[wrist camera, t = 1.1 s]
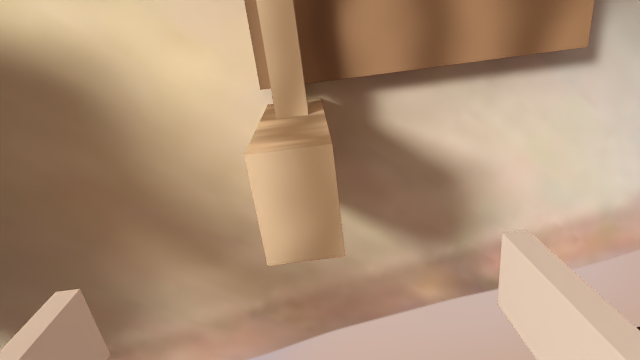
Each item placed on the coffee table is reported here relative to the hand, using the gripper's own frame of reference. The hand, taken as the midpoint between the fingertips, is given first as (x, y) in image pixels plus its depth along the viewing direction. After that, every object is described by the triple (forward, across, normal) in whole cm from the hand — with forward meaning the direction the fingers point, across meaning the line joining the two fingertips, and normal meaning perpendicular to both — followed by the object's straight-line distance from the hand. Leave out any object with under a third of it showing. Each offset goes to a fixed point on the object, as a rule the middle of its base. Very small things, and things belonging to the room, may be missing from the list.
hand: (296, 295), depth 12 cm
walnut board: (+18, +9, +9) cm, 22 cm away
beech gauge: (+19, 0, +5) cm, 19 cm away
